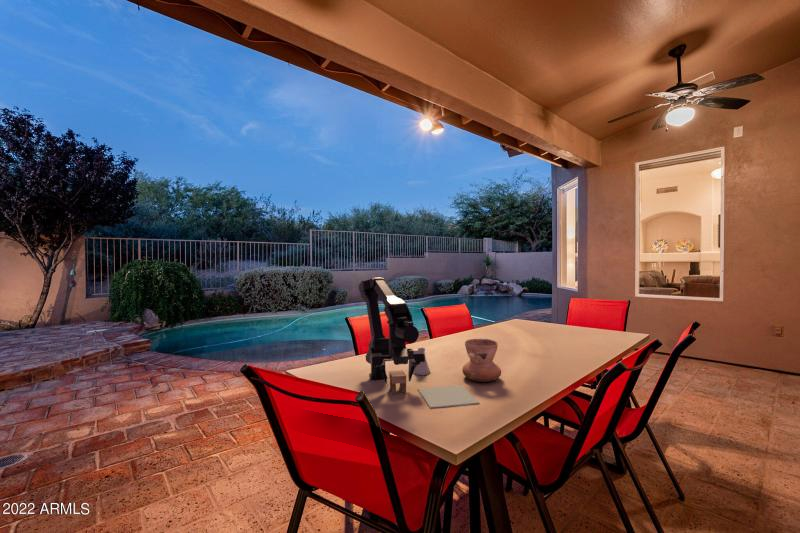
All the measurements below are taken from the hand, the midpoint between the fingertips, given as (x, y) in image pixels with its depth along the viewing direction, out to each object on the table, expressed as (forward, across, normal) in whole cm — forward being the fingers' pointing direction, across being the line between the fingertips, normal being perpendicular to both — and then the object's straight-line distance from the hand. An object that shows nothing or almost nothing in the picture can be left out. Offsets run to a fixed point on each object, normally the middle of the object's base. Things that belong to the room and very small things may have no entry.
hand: (397, 382), depth 118 cm
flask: (+3, +13, +17) cm, 22 cm away
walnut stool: (+3, 0, 0) cm, 3 cm away
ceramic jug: (+3, +34, +5) cm, 34 cm away
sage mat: (+3, +15, -9) cm, 18 cm away
